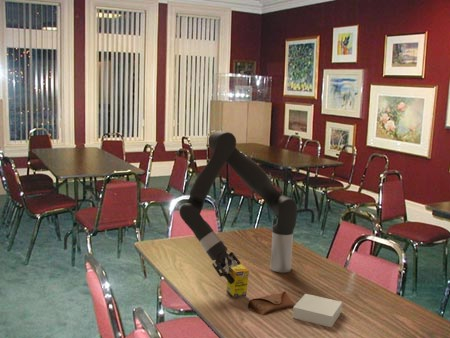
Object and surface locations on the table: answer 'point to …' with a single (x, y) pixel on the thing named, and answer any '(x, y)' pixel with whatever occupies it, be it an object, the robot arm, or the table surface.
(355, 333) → the table surface
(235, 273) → the supplement box
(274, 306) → the sunglasses case
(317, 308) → the plate
